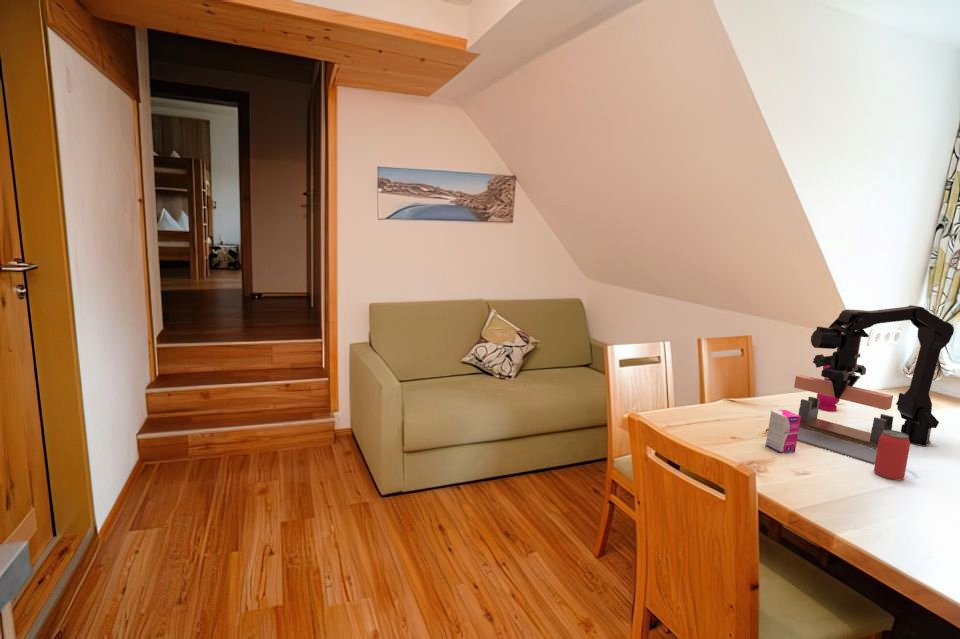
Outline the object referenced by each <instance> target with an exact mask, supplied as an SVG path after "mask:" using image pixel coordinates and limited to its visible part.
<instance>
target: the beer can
mask: <svg viewBox="0 0 960 639" xmlns="http://www.w3.org/2000/svg"><path fill="white" fill-rule="evenodd" d="M910 447H911V443H910V441H909V436H908V435H907V434H905V433H902V432H901V431H898V430H893V429H892V430H883V433H882V434H881V436H880V437H879V442H878V448H877V449H876V450H877V454H876V460H875V464H874V467H873V471H874V473H876V475H878V476H880V477H883V478H884V479H889V480H895V481H900V480H903V479H904V478H905V476H906V470H907V465H908V464H907V463H908V458H909V453H910Z"/></svg>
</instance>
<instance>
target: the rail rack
mask: <svg viewBox="0 0 960 639" xmlns="http://www.w3.org/2000/svg"><path fill="white" fill-rule="evenodd" d="M807 398H808V399H804V398H802V399H801V400H800V403H799V404H800V405H799V407H798V414H797V415H799V416H801V419H800V425H799V428H802V429H806V430H809V429H810V430H809V431H813V432H816V433H820V434H823V435H827V436H830V437H833V438H837V439H840V440H844V441H847V442H851V443H854V444H858V445H861V444H862V445H861V446H865V445H866V446H865V447H868V446H870V447H869V448H872V447H873V448H872V449H875V448H878V442H879V437H880V436H881V434H882V433H883V430H893V423H894V416H892V415H887V414H883V413H881V414H880V416H879V417H873V422H872V427H871V431H870V432H868V431H864V430H861V429H858V428H853V427H850V426H847V425H844V424H843V425H842V424H839V423H835V422H831V421H827V420H823V419H820V418H818V417H819V416H818V415H819V410H820V409H819V407H818V406H819V398H817V397H813V396H808V397H807Z"/></svg>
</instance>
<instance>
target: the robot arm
mask: <svg viewBox="0 0 960 639" xmlns="http://www.w3.org/2000/svg"><path fill="white" fill-rule="evenodd" d="M903 321H910V322H911V324H912V325H913V326H914V327H916V328H917V339H918V342H919V346H920V347H919V351H918V355H917V359H916V361H915V366H914V369H913V370H914V371H913V373H912V377H911V381H910V385H909V389H908V390H907V391H905V392H904V393H902V392H899V394H898V397H897V401H896V403H895V405H896V406H897V408H896V409H897V410H898V412H899V413H900V418H901V419H902V420H904V423H903V424H901V428H900V429H901V430H900V432H902V433H905V434H907V435H908V436H909V441H910V444H914V445H917V444H919V445H918V446H921V445H922V447H926V446H928V445H929V444H930V443H931V440H930V437H931V433H932V429H937V427H938V425H939V424H940V422H939V420H938V419H937V418H936V417H935V416H934V415H933V414H932V410H933V402H932V400H931V397H930V396H931V395H930V391H931V388H932V383H933V379H934V376H935V372H936V369H937V365H938V363H939V357H940V353H941V351H942V350H943V348H944V347H946V346H947V345H948V344H949V343H950V342H951V339H952V337H953V335H954V333H955V332H954V331H955V327H954V326H953V325H952V324H951V323H950V322H948V321H945V320H943V319H942V318H940V317H938V316H936V315H934V314H933V313H931V312H930V311H928V310H927V309H926V308H925V307H922V306H917V305H913V304H911V305H908V306H902V307H893V308H885V309H877V310H874V309H873V310H865V309H864V310H862V309H848V308H847V309H844V310H841V312H840V313H839V315H838V317H837V318H836V319H835V320H834V321H833V322H831V324H830V325H829V326H828V327H824V326H819V325H818V326H817V327H816V330H814V331H813V333H812V334H811V336H810V344H811V345H812V347H813V348H815V349H826V350H836V351H833V352H832V355H824V354H815V356H814V358H813V361H812V363H813V364H815V368H816V369H817V368H821V367H823V366H830V367H828V368H825V369H823V368H822V370H821V374H820V377H823V378H824V377H826V378H829V379H830V380H831V381H832V384H833V389H834V395H835V398H837V399H839V398H840V397H841V395H842V393H843V392H844V390H845V389H846V387H847V385H849V386H853V387H854V385H855V384H856V383H857V382H858V381H859V380H860V378H861V376H864V375H866V373H867V368H866V367H865V366H864V365H863V364H858V359H859V358H861V356H862V355H861V353H860V347H861V341H862V338H869V337H870V335H869V334H868V333H867V332H866V331H865V329H868V328H871V327H873V326H874V325H878V324H887V323H895V322H903ZM856 373H857V374H859V375H860V376H859V375H857V374H856ZM839 400H840V399H839ZM927 444H928V445H927Z"/></svg>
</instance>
